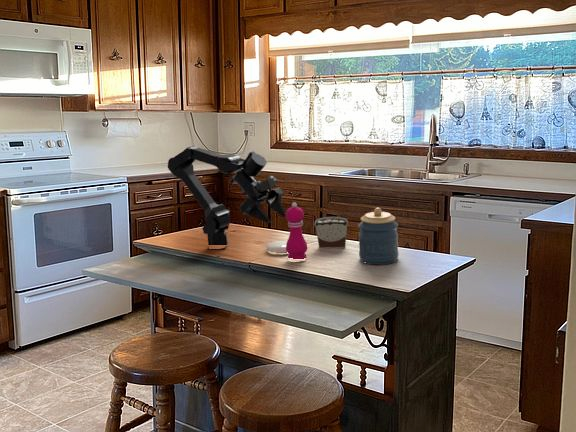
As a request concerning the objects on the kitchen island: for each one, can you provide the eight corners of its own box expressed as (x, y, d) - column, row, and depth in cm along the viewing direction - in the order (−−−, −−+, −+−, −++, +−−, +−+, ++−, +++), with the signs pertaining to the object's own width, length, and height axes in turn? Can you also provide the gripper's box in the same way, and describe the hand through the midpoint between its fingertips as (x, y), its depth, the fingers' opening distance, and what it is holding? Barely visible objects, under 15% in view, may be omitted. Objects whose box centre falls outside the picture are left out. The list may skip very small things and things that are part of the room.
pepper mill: (285, 257, 221) (282, 200, 216) (306, 256, 221) (303, 199, 217) (287, 264, 214) (284, 205, 209) (309, 262, 214) (306, 204, 210)
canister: (375, 251, 223) (374, 201, 218) (406, 258, 214) (405, 206, 209) (351, 260, 214) (349, 209, 210) (382, 268, 205) (381, 214, 201)
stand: (266, 255, 224) (266, 250, 224) (267, 246, 235) (267, 241, 234) (298, 254, 224) (298, 248, 224) (297, 245, 235) (297, 239, 234)
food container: (349, 242, 235) (348, 215, 232) (349, 247, 229) (348, 220, 226) (315, 243, 236) (314, 216, 233) (314, 248, 230) (313, 221, 227)
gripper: (244, 174, 210) (273, 210, 207) (277, 165, 225) (305, 198, 221) (227, 196, 216) (255, 231, 213) (260, 185, 231) (287, 218, 228)
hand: (277, 219), depth 219 cm, fingers open, 9 cm apart
